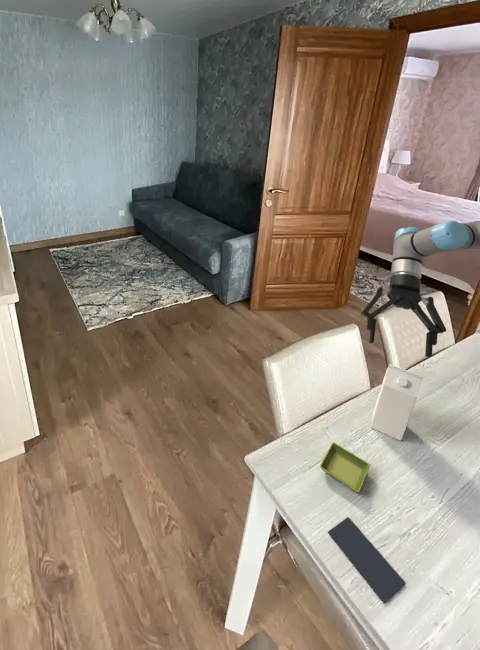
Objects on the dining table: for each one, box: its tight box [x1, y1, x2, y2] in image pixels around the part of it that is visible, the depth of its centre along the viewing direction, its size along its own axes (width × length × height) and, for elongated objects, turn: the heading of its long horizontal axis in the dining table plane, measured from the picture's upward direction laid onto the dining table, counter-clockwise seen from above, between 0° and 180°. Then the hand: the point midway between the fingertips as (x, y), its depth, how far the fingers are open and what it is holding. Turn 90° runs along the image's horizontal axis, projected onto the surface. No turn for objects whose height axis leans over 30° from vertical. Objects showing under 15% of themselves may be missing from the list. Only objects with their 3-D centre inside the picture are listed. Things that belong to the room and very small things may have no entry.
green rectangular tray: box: [319, 442, 371, 493], centre depth 81 cm, size 9×9×2 cm
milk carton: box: [370, 363, 423, 442], centre depth 90 cm, size 7×7×19 cm
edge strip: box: [327, 516, 406, 604], centre depth 66 cm, size 12×6×1 cm, turn 27°
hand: (399, 349), depth 95 cm, fingers open, 13 cm apart
